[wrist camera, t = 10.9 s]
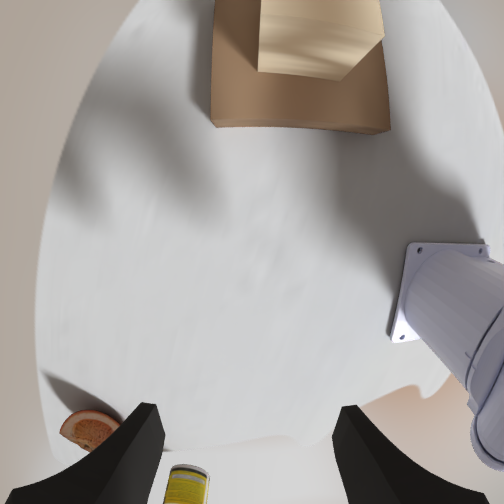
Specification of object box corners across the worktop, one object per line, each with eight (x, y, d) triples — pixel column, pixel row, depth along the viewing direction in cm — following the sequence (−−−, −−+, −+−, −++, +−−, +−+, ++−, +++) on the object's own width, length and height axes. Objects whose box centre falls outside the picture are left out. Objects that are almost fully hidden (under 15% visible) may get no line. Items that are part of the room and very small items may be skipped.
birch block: (337, 20, 12) (371, -35, 6) (340, 81, 13) (384, 36, 7) (261, 10, 11) (265, -54, 6) (257, 71, 13) (260, 13, 7)
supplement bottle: (164, 462, 24) (150, 518, 16) (202, 463, 24) (194, 523, 16) (179, 479, 26) (169, 530, 17) (214, 480, 25) (209, 534, 17)
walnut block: (358, 16, 14) (372, -3, 11) (370, 135, 16) (390, 129, 13) (220, 5, 14) (216, -18, 11) (217, 128, 16) (210, 119, 13)
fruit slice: (153, 430, 23) (141, 467, 18) (134, 452, 24) (123, 483, 19) (81, 388, 21) (60, 420, 17) (73, 416, 23) (56, 444, 18)
